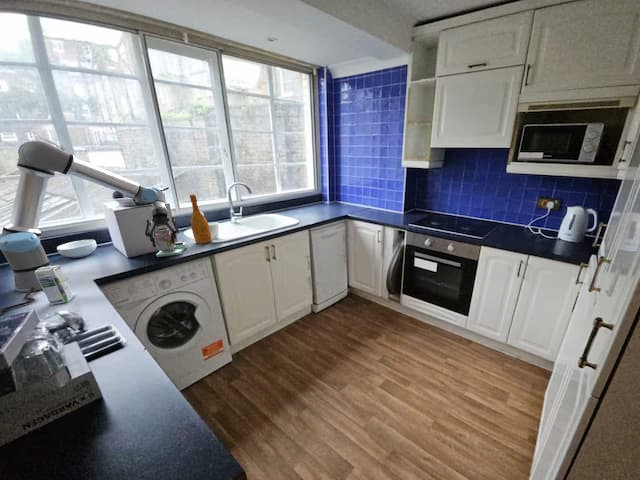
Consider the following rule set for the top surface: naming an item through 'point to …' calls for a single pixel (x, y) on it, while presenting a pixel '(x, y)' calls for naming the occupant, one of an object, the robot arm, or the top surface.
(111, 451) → the top surface
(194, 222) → the wine bottle
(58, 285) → the syrup box
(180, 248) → the scale
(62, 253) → the cereal bowl
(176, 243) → the tare button
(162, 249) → the glass clasp jar
